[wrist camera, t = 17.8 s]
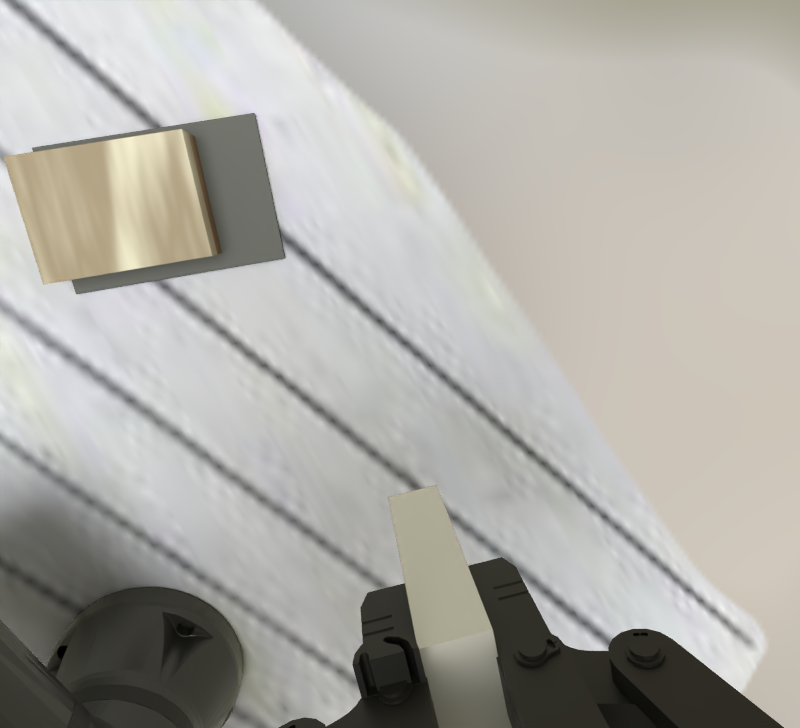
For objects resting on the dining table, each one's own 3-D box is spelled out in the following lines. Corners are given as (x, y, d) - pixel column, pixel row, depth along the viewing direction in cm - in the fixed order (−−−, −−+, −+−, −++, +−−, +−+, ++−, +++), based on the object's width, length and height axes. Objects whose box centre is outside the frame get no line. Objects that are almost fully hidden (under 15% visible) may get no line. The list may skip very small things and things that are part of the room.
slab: (221, 253, 43) (67, 279, 42) (194, 136, 41) (31, 162, 40) (211, 255, 39) (43, 284, 39) (181, 128, 37) (3, 156, 37)
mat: (78, 293, 43) (76, 294, 42) (34, 148, 40) (32, 147, 40) (285, 258, 44) (284, 258, 43) (254, 114, 41) (254, 113, 41)
